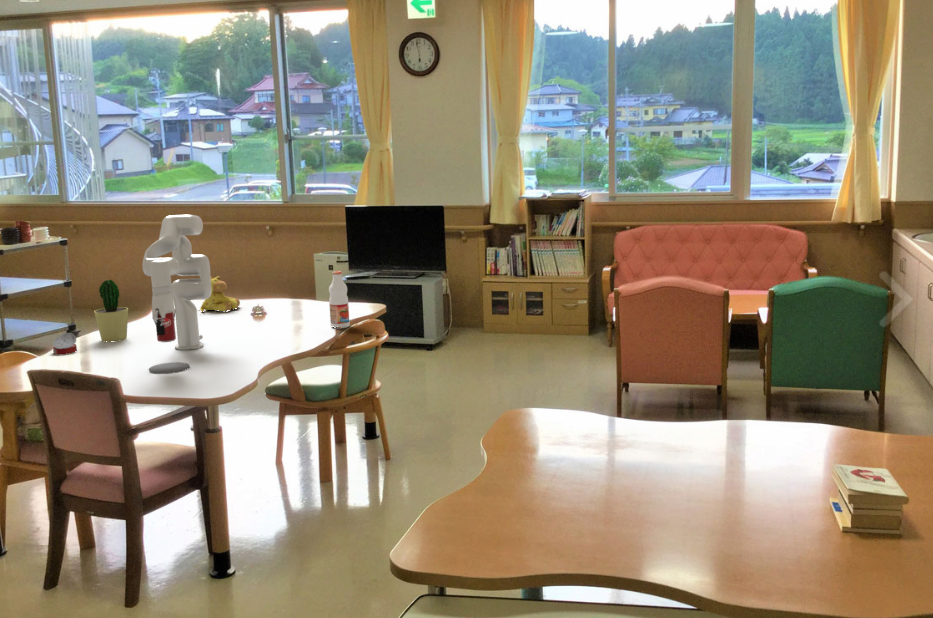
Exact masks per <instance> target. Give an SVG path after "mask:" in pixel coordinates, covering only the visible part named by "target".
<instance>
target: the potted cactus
mask: <svg viewBox="0 0 933 618" xmlns="http://www.w3.org/2000/svg"><path fill="white" fill-rule="evenodd" d="M99 283H100V284H99V285H100V286H99V287H98V291H99V292H98V293H99V296H98V298H101V300H102V303H101V304H102V305H103V308H99V309H96V310H94V311H93V312H94V316H95V320H96V324H97V327H98V331H99V336H100V339H101V342H103V341H105V342H104V343H112V342H111V341H117V342H120V341H119V340H123V341H125V340H124V339H126V338H127V337H128V320H129V308H128V307H126V306H125V307H124V306H119V299H120V295H121V294H120V288H118V287H119V285H118V284H117V283H115V281H114V280H113V279H106V280H103V281H102V283H101V282H99ZM106 341H107V342H106Z"/></svg>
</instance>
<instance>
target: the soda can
mask: <svg viewBox="0 0 933 618" xmlns="http://www.w3.org/2000/svg"><path fill="white" fill-rule="evenodd" d="M158 318H161V316H160V314H159V315H158ZM174 319H175V318H174V313H173V311H172V312H169V313H166V315H165V319H164V321H163V325H164V331H165V335H157V334H156V340H157V342H158V343H171V342H174V341H176V340H177V337H176V336H177V335H176V334H177V332H176V325H175V324H176V321H174ZM159 321H160V322H161V320H159ZM155 331H156V332H157V329H156V330H155Z"/></svg>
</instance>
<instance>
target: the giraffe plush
mask: <svg viewBox="0 0 933 618" xmlns="http://www.w3.org/2000/svg"><path fill="white" fill-rule="evenodd" d="M227 289H228V285H227V283H226V282H225V281H223V280H221V276H219V275H218V276H215V277H213V276H211V296H210V297H209V298H207V299H204V301H203V302H202V304H201V306H200V307H199V310H201V311H202V312H203V311H204V310H219V311H227V310H231V309H235V308H239V307H240V305H241V301H240V300H239V299H238V298H234V297H230V296H225V295H224V292H226V290H227ZM238 306H239V307H238ZM201 311H200V312H201ZM231 311H232V310H231ZM202 312H201V313H202Z"/></svg>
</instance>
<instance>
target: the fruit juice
mask: <svg viewBox="0 0 933 618" xmlns="http://www.w3.org/2000/svg"><path fill="white" fill-rule="evenodd" d="M331 274H332V281H331V284H330V285H329V286H328V293H329V300H328V301H329V318H330V319H329V321H330V322H329V323H330V327H331V326H334V327H337V326H338V327H341V328H340V329H346V328H349V327H350V311H349V309H350V308H349V297H348V295H347V294H348V286H347V284H346V283H345V282H344V279H343V271H342V270H336V271H335V270H334V271H332V273H331Z"/></svg>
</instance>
